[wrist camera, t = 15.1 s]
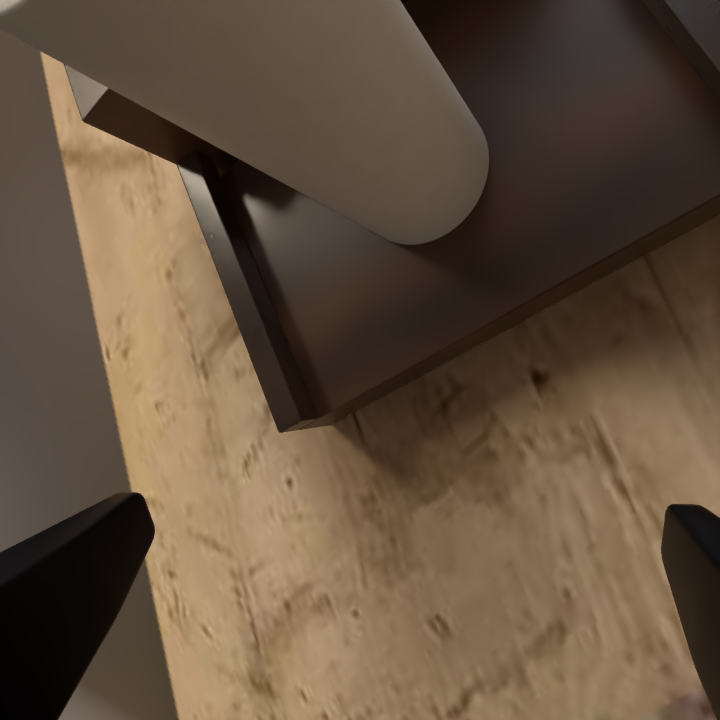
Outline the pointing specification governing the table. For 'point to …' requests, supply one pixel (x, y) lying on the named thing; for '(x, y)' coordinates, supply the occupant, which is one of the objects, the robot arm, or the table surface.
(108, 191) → the table surface
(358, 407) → the step shelf
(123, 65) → the glue bottle
